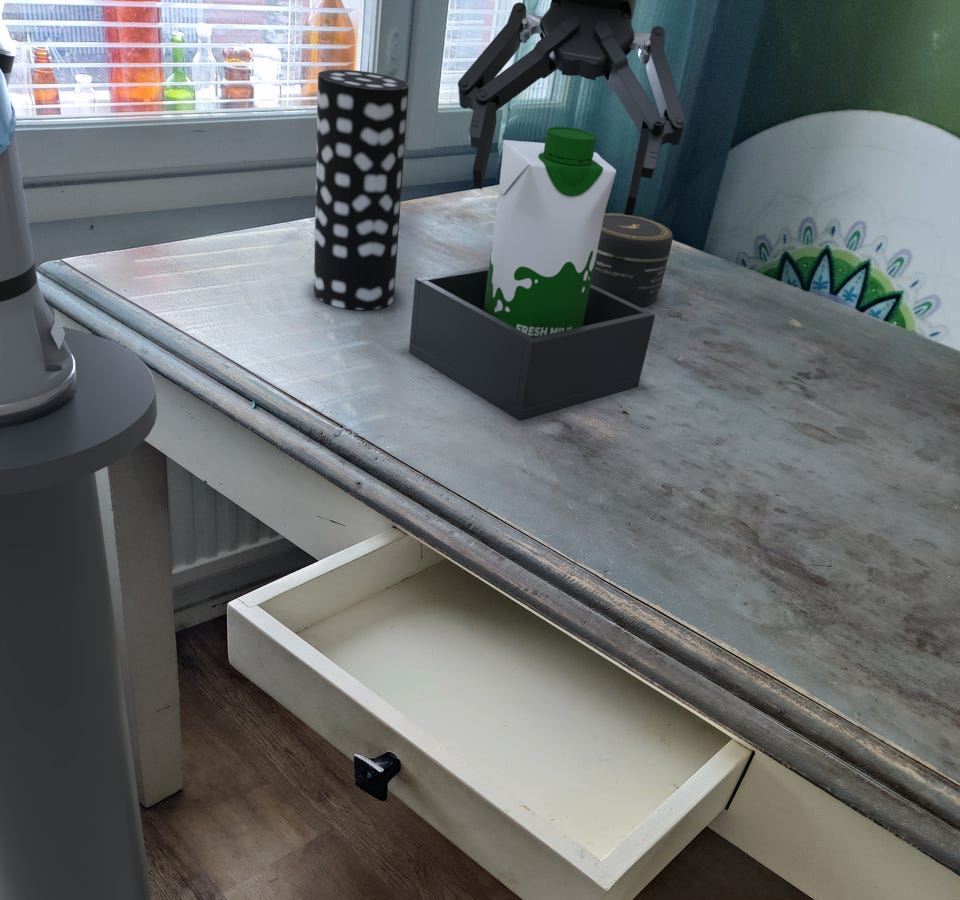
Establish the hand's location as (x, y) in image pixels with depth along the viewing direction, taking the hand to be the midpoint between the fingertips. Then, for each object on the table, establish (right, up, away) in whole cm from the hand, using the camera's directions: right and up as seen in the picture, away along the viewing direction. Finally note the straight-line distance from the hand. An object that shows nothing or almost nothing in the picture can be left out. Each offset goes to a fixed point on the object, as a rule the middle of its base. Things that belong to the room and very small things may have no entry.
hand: (553, 193), depth 86 cm
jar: (+9, +1, +28) cm, 29 cm away
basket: (-2, -13, +7) cm, 15 cm away
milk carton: (-2, -13, +7) cm, 15 cm away
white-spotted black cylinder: (-20, -3, +17) cm, 26 cm away
